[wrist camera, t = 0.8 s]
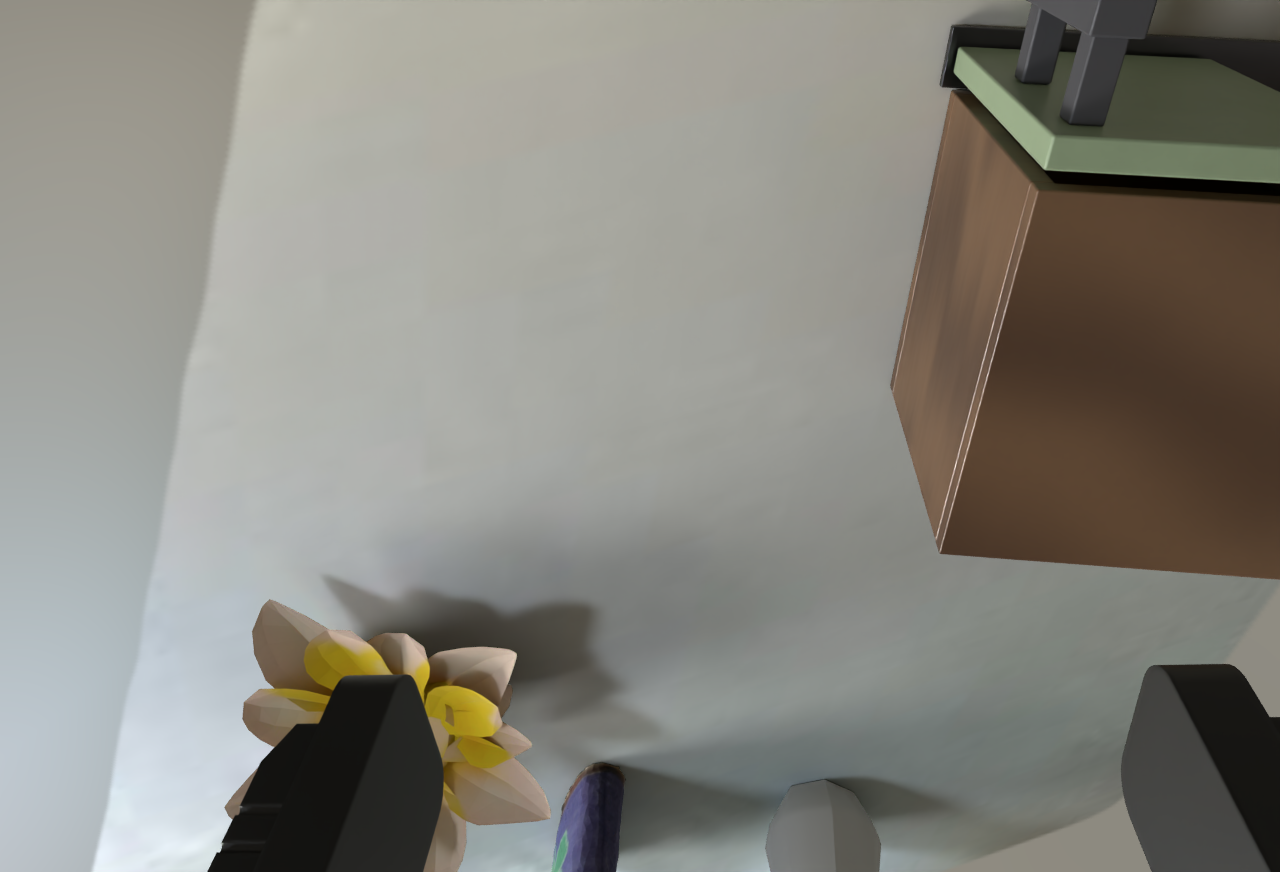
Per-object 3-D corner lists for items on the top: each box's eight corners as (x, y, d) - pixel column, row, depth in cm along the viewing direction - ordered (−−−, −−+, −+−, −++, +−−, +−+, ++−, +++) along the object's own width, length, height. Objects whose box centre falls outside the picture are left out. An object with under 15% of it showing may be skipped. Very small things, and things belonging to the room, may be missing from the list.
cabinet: (951, 24, 29) (1041, 104, 21) (1446, 48, 28) (1748, 141, 20) (879, 385, 36) (924, 553, 28) (1274, 411, 35) (1443, 592, 27)
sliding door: (981, -68, 27) (1095, -23, 19) (1251, -56, 27) (1491, -5, 18) (952, 73, 29) (1042, 171, 21) (1202, 86, 29) (1396, 190, 20)
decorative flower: (598, 634, 42) (538, 860, 35) (570, 742, 50) (517, 942, 43) (276, 548, 42) (153, 756, 35) (300, 669, 50) (205, 857, 43)
